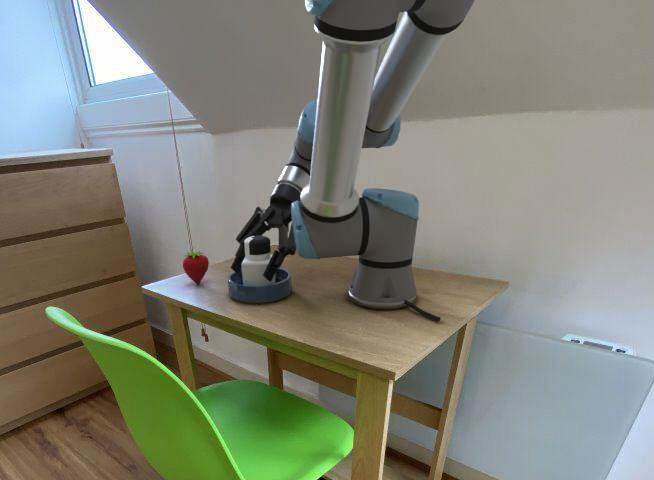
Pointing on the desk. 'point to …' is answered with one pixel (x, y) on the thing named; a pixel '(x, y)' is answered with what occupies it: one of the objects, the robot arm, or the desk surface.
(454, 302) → the desk surface
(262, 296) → the bowl
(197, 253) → the strawberry
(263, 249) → the medicine bottle
